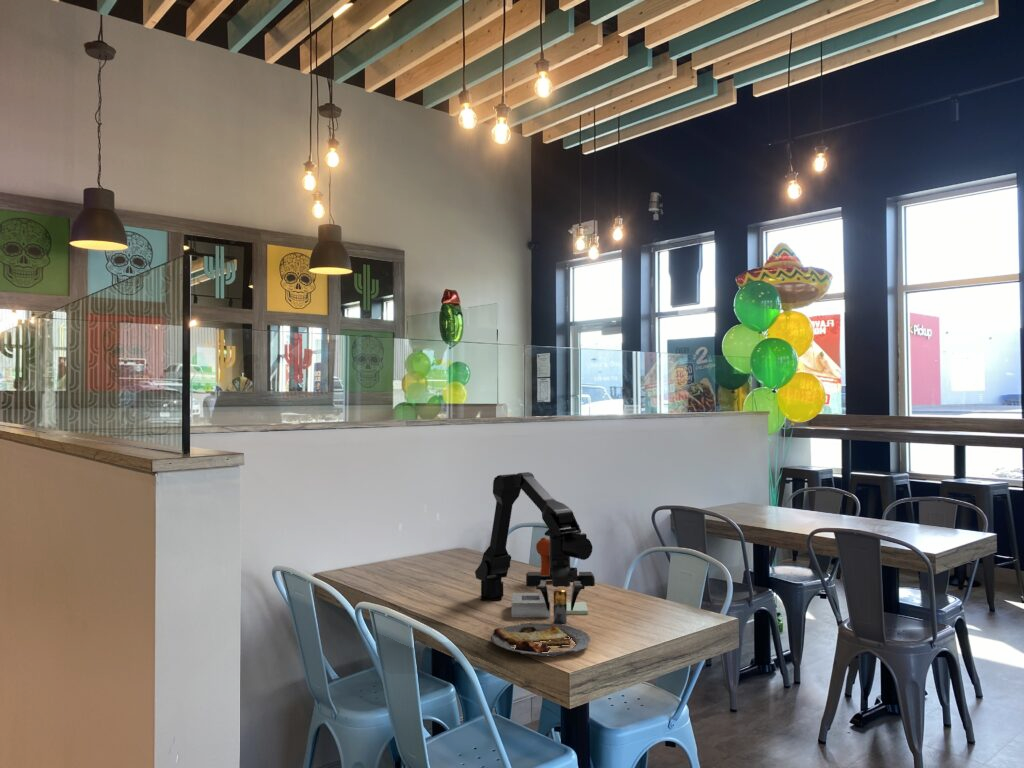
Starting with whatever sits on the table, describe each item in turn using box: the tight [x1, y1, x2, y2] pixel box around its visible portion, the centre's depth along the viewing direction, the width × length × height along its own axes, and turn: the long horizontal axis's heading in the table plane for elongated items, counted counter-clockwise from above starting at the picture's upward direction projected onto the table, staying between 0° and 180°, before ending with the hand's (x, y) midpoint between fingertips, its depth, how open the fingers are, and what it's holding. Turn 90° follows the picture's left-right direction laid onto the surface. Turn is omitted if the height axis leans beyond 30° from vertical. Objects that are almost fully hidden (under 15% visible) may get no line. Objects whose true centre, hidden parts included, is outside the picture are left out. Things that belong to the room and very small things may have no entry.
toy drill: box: [535, 537, 552, 585], centre depth 257 cm, size 5×19×15 cm, turn 36°
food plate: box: [490, 622, 591, 657], centre depth 196 cm, size 25×23×4 cm
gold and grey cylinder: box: [553, 588, 568, 625], centre depth 214 cm, size 4×4×9 cm
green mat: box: [567, 601, 589, 615], centre depth 227 cm, size 9×9×1 cm
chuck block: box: [511, 592, 551, 618], centre depth 225 cm, size 11×11×4 cm
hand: (560, 610), depth 214 cm, fingers open, 6 cm apart
